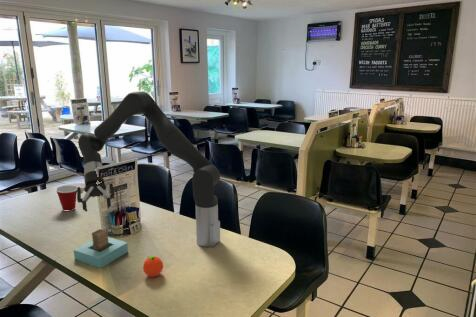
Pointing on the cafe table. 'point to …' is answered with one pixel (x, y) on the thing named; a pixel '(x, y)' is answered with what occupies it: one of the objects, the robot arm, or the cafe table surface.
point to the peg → (100, 240)
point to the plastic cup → (67, 196)
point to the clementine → (153, 266)
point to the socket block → (100, 253)
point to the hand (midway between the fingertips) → (97, 209)
